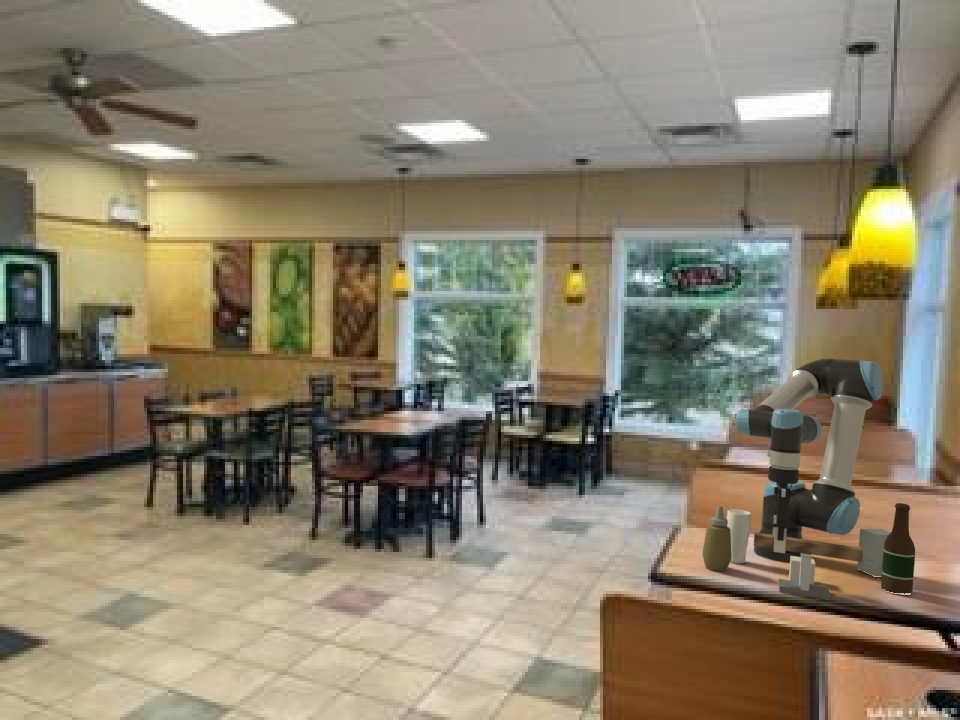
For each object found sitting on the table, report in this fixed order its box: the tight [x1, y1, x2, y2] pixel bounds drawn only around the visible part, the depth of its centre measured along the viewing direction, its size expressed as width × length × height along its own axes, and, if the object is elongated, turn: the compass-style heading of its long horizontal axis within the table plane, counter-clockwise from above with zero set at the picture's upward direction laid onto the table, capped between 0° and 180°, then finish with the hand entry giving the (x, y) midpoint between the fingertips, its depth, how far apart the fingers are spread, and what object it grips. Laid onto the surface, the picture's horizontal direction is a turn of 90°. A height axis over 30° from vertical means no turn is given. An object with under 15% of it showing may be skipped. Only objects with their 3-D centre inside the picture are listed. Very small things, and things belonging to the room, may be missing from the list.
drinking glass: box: [726, 508, 752, 565], centre depth 213 cm, size 7×7×15 cm
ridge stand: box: [778, 553, 831, 601], centre depth 189 cm, size 12×7×11 cm, turn 69°
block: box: [788, 556, 816, 584], centre depth 198 cm, size 6×5×6 cm
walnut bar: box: [753, 532, 863, 563], centre depth 189 cm, size 26×3×3 cm, turn 69°
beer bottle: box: [880, 502, 916, 594], centre depth 194 cm, size 8×8×24 cm
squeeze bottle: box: [701, 505, 731, 572], centre depth 205 cm, size 8×8×18 cm
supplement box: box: [856, 528, 892, 576], centre depth 210 cm, size 7×7×13 cm
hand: (778, 545), depth 191 cm, fingers open, 13 cm apart
